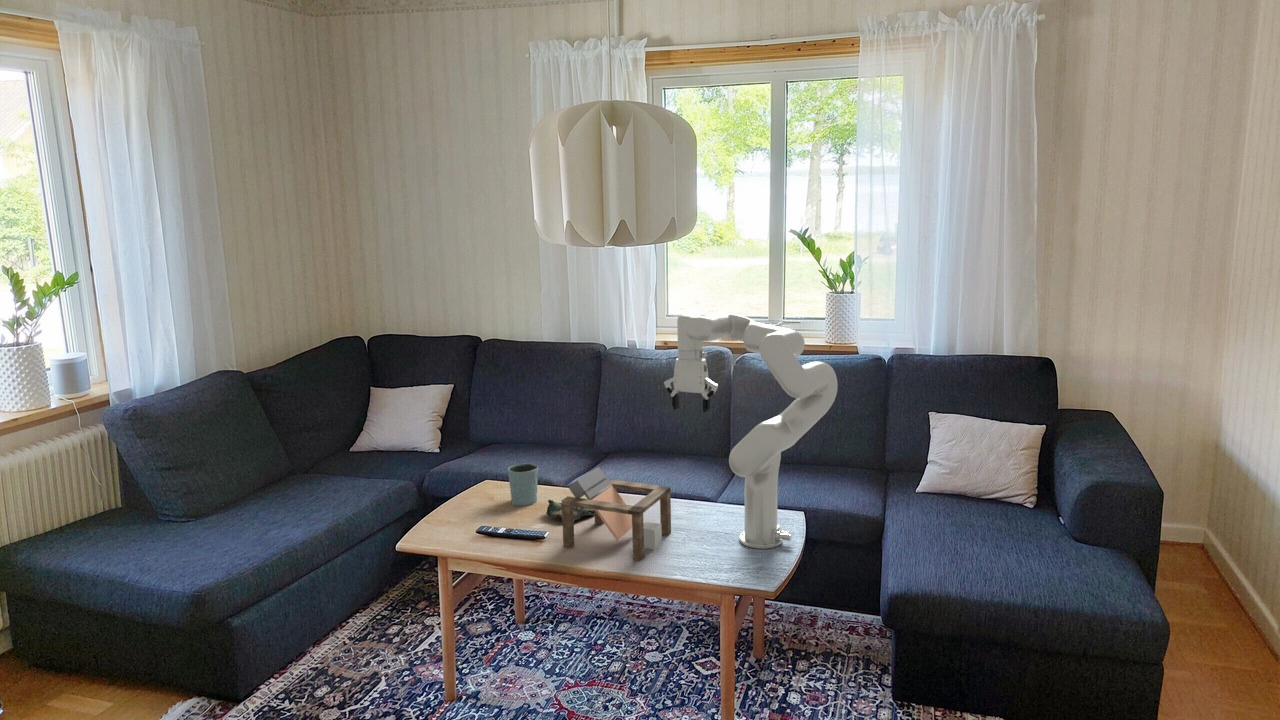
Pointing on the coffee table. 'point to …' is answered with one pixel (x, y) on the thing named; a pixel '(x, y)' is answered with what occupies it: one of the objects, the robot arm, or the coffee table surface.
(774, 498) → the robot arm
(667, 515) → the miniature wooden side table
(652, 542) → the light gray block
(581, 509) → the decorative rock
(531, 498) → the teal cup
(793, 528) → the coffee table surface
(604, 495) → the trapdoor
